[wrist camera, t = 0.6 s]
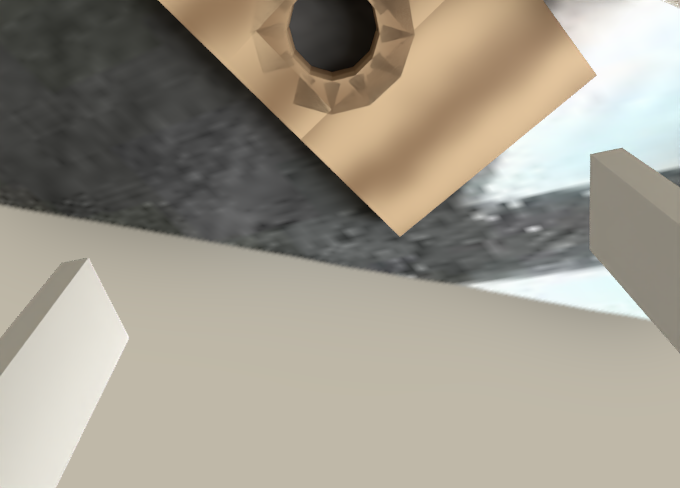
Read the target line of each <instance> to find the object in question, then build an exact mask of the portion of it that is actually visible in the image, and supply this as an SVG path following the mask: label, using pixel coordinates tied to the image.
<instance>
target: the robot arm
mask: <svg viewBox="0 0 680 488" xmlns="http://www.w3.org/2000/svg"><path fill="white" fill-rule="evenodd" d="M590 250H591V252H592V253H593V254H594V255H595V256H596V257H597V258H598V260H599V261H600V262H601V263H602V264H603V265H604V267H605V268H606V269H607V270H608V271H609V272H610V273H611V275H612V276H613V277H614V278H615V279H616V280H617V282H618V283H619V284H620V285H621V286H622V287H623V288H624V290H625V291H626V292H627V293H628V294H629V295H630V297H631V298H632V299H633V300H634V301H635V302H636V303H637V305H638V306H639V307H640V308H641V309H642V310H643V311H644V313H645V314H646V315H647V316H648V317H649V318H650V320H651V321H652V322H653V323H654V324H655V325H656V326H657V328H658V329H659V330H660V331H661V332H662V333H663V334H664V336H665V337H666V338H667V339H668V340H669V341H670V343H671V344H672V345H673V346H674V347H675V348H676V350H677V351H678V352H679V353H680V187H678V186H677V185H675V184H674V183H672V182H671V181H670V180H668V179H667V178H665V177H664V176H662V175H661V174H659V173H658V172H656V171H655V170H654V169H652V168H651V167H649V166H648V165H646V164H645V163H643V162H642V161H640V160H639V159H638V158H636V157H635V156H633V155H632V154H630V153H629V152H627V151H626V150H624V149H623V148H619V149H614V150H609V151H604V152H599V153H594V154H590ZM128 339H129V337H128V334H127V332H126V330H125V328H124V326H123V325H122V323H121V321H120V319H119V317H118V315H117V313H116V311H115V309H114V307H113V305H112V303H111V301H110V299H109V297H108V295H107V293H106V291H105V289H104V287H103V285H102V283H101V281H100V279H99V277H98V275H97V273H96V271H95V269H94V267H93V265H92V263H91V261H90V259H89V258H83V259H79V260H74V261H70V262H64V263H61V264H60V266H59V267H58V268H57V269H56V270H55V272H54V273H53V274H52V275H51V277H50V278H49V279H48V280H47V281H46V283H45V284H44V285H43V286H42V288H41V289H40V290H39V291H38V292H37V294H36V295H35V296H34V297H33V299H32V300H31V301H30V302H29V304H28V305H27V306H26V307H25V308H24V310H23V311H22V312H21V313H20V315H19V316H18V317H17V318H16V320H15V321H14V322H13V323H12V324H11V326H10V327H9V328H8V329H7V330H6V332H5V333H4V334H3V335H2V337H1V338H0V488H56V487H57V484H58V482H59V480H60V478H61V476H62V474H63V472H64V469H65V468H66V466H67V464H68V462H69V460H70V458H71V456H72V454H73V452H74V450H75V448H76V446H77V444H78V441H79V440H80V438H81V435H82V433H83V431H84V429H85V427H86V425H87V423H88V421H89V419H90V417H91V415H92V413H93V411H94V409H95V407H96V405H97V403H98V401H99V399H100V397H101V395H102V392H103V390H104V389H105V386H106V384H107V382H108V380H109V378H110V376H111V374H112V372H113V370H114V368H115V366H116V364H117V362H118V360H119V358H120V356H121V354H122V352H123V350H124V348H125V346H126V344H127V341H128Z"/></svg>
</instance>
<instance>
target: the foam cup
mask: <svg viewBox="0 0 680 488" xmlns="http://www.w3.org/2000/svg"><path fill="white" fill-rule="evenodd" d="M662 1H664V2H667V3H669V4H671V5H673V6H675V7H678V8H680V0H662Z"/></svg>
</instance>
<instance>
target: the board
mask: <svg viewBox="0 0 680 488" xmlns="http://www.w3.org/2000/svg"><path fill="white" fill-rule="evenodd" d="M158 1H159V2H160V3H161V4H162V5H163V6H164V7H165V8H166V9H168V10H169V11H170V12H171V13H172V14H173V15H174V16H175V17H176V18H177V19H178V20H179V21H180V22H181V23H182V24H183V25H184V26H185V27H186V28H187V29H188V30H189V31H190V32H191V33H192V34H193V35H194V36H195V37H196V38H197V39H198V40H199V41H200V42H201V43H202V44H203V45H204V46H205V47H206V48H207V49H208V50H209V51H210V52H212V53H213V54H214V55H215V56H216V57H217V58H218V59H219V60H220V61H221V62H222V63H223V64H224V65H225V66H226V67H227V68H228V69H229V70H230V71H231V72H232V73H233V74H234V75H235V76H236V77H237V78H238V79H239V80H240V81H241V82H242V83H243V84H244V85H245V86H246V87H247V88H248V89H249V90H250V91H251V92H252V93H253V94H254V95H256V96H257V97H258V98H259V99H260V100H261V101H262V102H263V103H264V104H265V105H266V106H267V107H268V108H269V109H270V110H271V111H272V112H273V113H274V114H275V115H276V116H277V117H278V118H279V119H280V120H281V121H282V122H283V123H284V124H285V125H286V126H287V127H288V128H289V129H290V130H291V131H292V132H293V133H294V134H295V135H296V136H297V137H298V138H300V139H301V140H302V141H303V142H304V143H305V144H306V145H307V146H308V147H309V148H310V149H311V150H312V151H313V152H314V153H315V154H316V155H317V156H318V157H319V158H320V159H321V160H322V161H323V162H324V163H325V164H326V165H327V166H328V167H329V168H330V169H331V170H332V171H333V172H334V173H335V174H336V175H337V176H338V177H339V178H340V179H341V180H342V181H344V182H345V183H346V184H347V185H348V186H349V187H350V188H351V189H352V190H353V191H354V192H355V193H356V194H357V195H358V196H359V197H360V198H361V199H362V200H363V201H364V202H365V203H366V204H367V205H368V206H369V207H370V208H371V209H372V210H373V211H374V212H375V213H376V214H377V215H378V216H379V217H380V218H381V219H382V220H383V221H384V222H385V223H386V224H388V225H389V226H390V227H391V228H392V229H393V230H394V231H395V232H396V233H397V234H398V235H399V236H401V235H403V234H404V233H405V232H406V231H407V230H409V229H410V228H411V227H412V226H414V225H415V224H416V223H417V222H418V221H420V220H421V219H422V218H423V217H425V216H426V215H427V214H428V213H429V212H431V211H432V210H433V209H434V208H435V207H437V206H438V205H439V204H440V203H442V202H443V201H444V200H445V199H446V198H448V197H449V196H450V195H451V194H453V193H454V192H455V191H456V190H457V189H459V188H460V187H461V186H462V185H464V184H465V183H466V182H467V181H468V180H470V179H471V178H472V177H473V176H475V175H476V174H477V173H478V172H479V171H481V170H482V169H483V168H484V167H485V166H487V165H488V164H489V163H490V162H492V161H493V160H494V159H495V158H496V157H498V156H499V155H500V154H501V153H503V152H504V151H505V150H506V149H507V148H509V147H510V146H511V145H512V144H514V143H515V142H516V141H517V140H518V139H520V138H521V137H522V136H523V135H525V134H526V133H527V132H528V131H529V130H531V129H532V128H533V127H534V126H535V125H537V124H538V123H539V122H540V121H542V120H543V119H544V118H545V117H546V116H548V115H549V114H550V113H551V112H553V111H554V110H555V109H556V108H557V107H559V106H560V105H561V104H562V103H564V102H565V101H566V100H567V99H568V98H570V97H571V96H572V95H573V94H575V93H576V92H577V91H578V90H579V89H581V88H582V87H583V86H584V85H586V84H587V83H588V82H589V81H590V80H592V79H593V78H594V77H595V76H596V74H595V72H594V71H593V69H592V68H591V67H590V65H589V64H588V62H587V61H586V60H585V58H584V57H583V55H582V54H581V53H580V51H579V50H578V48H577V47H576V46H575V44H574V43H573V42H572V40H571V39H570V37H569V36H568V35H567V33H566V32H565V30H564V29H563V28H562V26H561V25H560V23H559V22H558V21H557V19H556V18H555V16H554V15H553V14H552V12H551V11H550V9H549V8H548V7H547V5H546V4H545V3H544V1H543V0H368V1H369V2H370V3H371V4H372V8H373V13H374V18H375V23H376V31H375V34H374V38H373V41H372V44H371V48H370V51H369V52H368V53H367V54H366V55H365V56H364V57H363V58H362V59H361V60H360V61H359V62H358V63H357V64H356V65H355V66H354V67H350V68H346V69H342V70H338V71H334V72H330V71H327V70H323V69H320V68H317V67H313V66H311V65H310V64H309V63H308V62H307V61H306V60H305V59H304V58H303V57H302V56H301V55H300V54H299V53H298V52H297V51H296V50H295V47H294V43H293V39H292V35H291V32H290V28H289V24H290V20H291V15H292V11H293V7H294V3H295V2H296V1H297V0H158Z"/></svg>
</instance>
